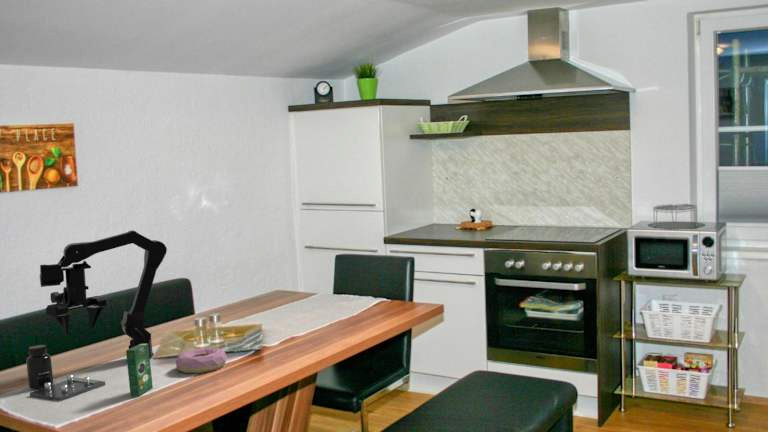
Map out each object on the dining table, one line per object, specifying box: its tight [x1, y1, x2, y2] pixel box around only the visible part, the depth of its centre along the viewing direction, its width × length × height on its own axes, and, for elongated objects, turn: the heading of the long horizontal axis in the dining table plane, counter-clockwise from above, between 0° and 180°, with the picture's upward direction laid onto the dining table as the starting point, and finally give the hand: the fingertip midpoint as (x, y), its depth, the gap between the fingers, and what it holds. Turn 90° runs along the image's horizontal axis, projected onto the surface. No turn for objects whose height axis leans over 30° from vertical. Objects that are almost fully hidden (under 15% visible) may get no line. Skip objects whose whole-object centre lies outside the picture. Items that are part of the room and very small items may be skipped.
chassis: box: [29, 374, 106, 402], centre depth 230 cm, size 15×14×3 cm
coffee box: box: [125, 344, 154, 398], centre depth 222 cm, size 8×3×13 cm, turn 168°
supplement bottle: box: [25, 344, 54, 390], centre depth 237 cm, size 7×7×12 cm
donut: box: [175, 347, 228, 374], centre depth 243 cm, size 16×15×5 cm
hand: (79, 332), depth 252 cm, fingers open, 9 cm apart
